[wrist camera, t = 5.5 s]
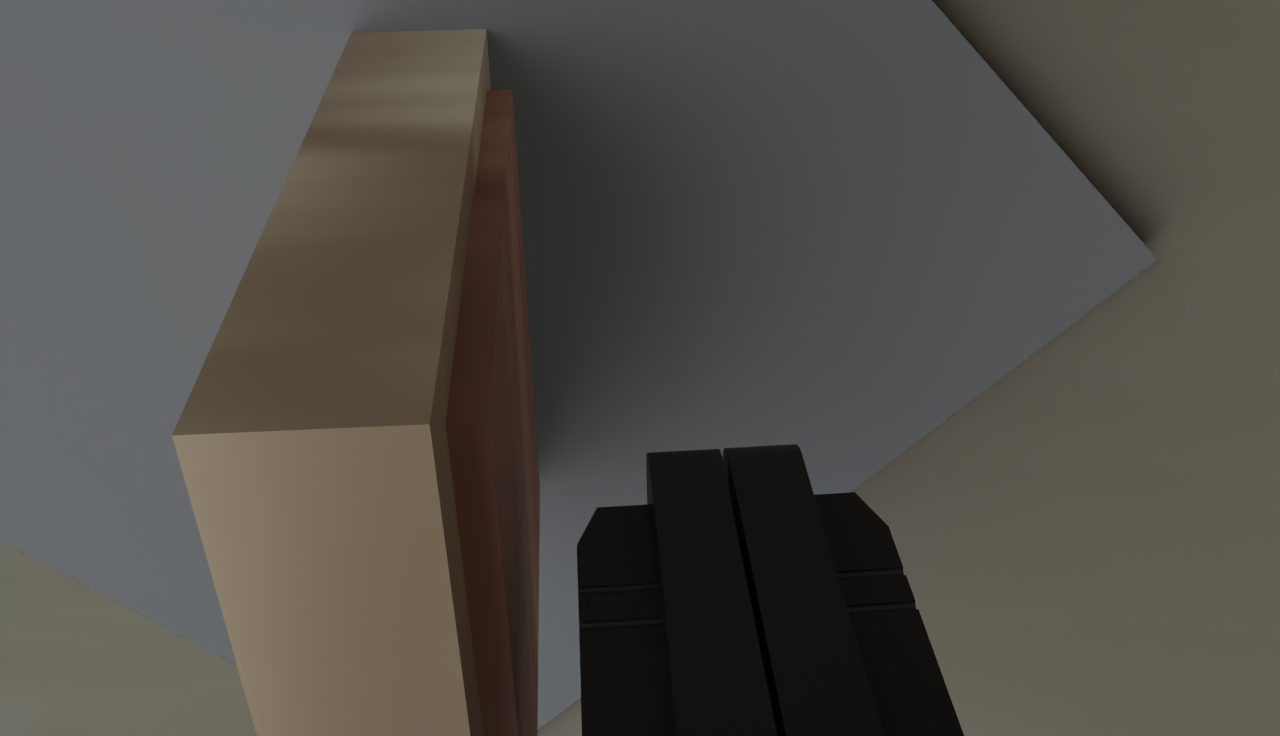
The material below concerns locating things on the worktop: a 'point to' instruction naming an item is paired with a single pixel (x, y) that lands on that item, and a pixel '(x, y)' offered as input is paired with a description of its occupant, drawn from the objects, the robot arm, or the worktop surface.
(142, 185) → the rubber mat
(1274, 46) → the worktop surface
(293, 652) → the birch tile
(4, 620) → the worktop surface
